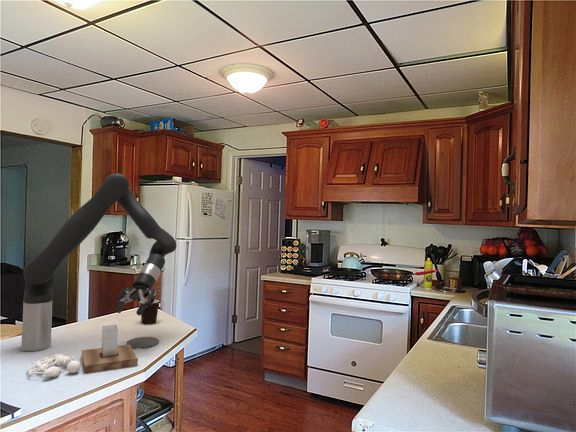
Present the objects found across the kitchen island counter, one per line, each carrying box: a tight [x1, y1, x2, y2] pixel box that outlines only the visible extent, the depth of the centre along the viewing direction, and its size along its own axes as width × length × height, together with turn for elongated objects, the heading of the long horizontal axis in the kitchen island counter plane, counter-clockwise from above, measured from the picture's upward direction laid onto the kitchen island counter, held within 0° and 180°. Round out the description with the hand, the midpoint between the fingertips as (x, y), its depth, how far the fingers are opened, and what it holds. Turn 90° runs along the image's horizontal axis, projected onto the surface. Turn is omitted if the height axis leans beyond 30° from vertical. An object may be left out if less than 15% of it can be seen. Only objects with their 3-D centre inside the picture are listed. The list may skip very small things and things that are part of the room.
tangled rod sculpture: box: [26, 353, 82, 378], centre depth 131 cm, size 19×14×4 cm
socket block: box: [80, 344, 139, 374], centre depth 139 cm, size 16×16×2 cm
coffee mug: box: [139, 299, 160, 325], centre depth 190 cm, size 12×9×10 cm
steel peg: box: [101, 324, 119, 358], centre depth 139 cm, size 4×4×12 cm
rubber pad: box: [126, 336, 160, 349], centre depth 159 cm, size 12×12×1 cm
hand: (127, 313), depth 148 cm, fingers open, 8 cm apart
